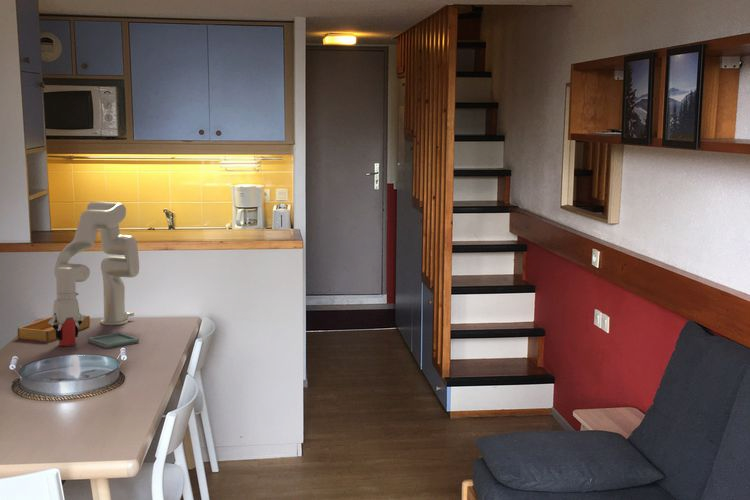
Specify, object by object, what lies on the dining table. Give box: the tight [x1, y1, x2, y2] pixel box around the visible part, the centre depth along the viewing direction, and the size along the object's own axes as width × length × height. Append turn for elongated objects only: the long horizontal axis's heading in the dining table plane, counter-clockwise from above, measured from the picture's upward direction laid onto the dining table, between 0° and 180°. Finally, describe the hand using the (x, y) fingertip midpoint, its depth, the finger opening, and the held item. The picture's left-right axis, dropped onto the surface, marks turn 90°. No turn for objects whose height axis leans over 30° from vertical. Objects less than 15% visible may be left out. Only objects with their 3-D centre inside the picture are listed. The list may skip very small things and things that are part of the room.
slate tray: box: [87, 332, 140, 349], centre depth 352 cm, size 15×15×2 cm
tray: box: [17, 314, 91, 343], centre depth 366 cm, size 31×15×6 cm, turn 166°
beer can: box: [58, 317, 76, 347], centre depth 345 cm, size 7×7×12 cm
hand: (67, 337), depth 345 cm, fingers closed on beer can, 6 cm apart
